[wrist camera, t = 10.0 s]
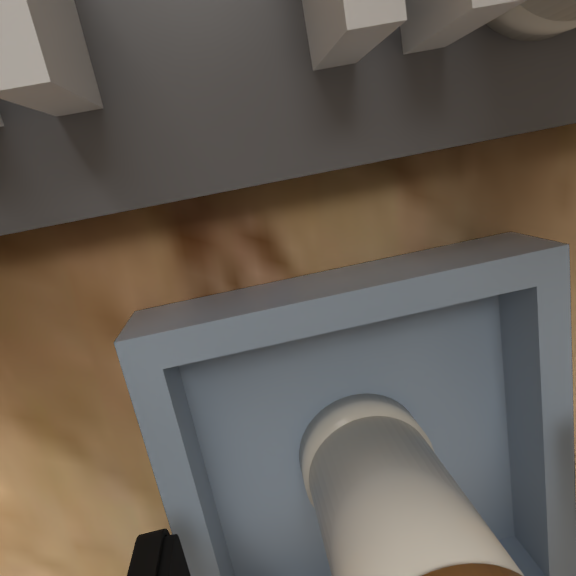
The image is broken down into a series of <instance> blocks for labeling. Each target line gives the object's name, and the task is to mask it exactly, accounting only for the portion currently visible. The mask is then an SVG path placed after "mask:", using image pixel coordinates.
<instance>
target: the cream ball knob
mask: <svg viewBox="0 0 576 576" xmlns="http://www.w3.org/2000/svg"><path fill="white" fill-rule="evenodd" d="M486 25H487V26H489V27H490V28H491V29H492V30H494V31H495V32H497V33H499V34H501V35H503V36H505V37H508V38H510V39H514V40H519V41H540V40H544V39H548V38H552V37H554V36H557V35H559V34H561V33H564V32H566V31H569V30H571V29H574V28H576V0H527V1H525V2H523V3H521V4H520V5H518V6H516V7H514V8H513V9H511V10H509V11H507V12H506V13H504V14H502V15H500V16H499V17H497V18H495V19H493V20H492V21H490V22H488V23H486Z"/></svg>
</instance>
